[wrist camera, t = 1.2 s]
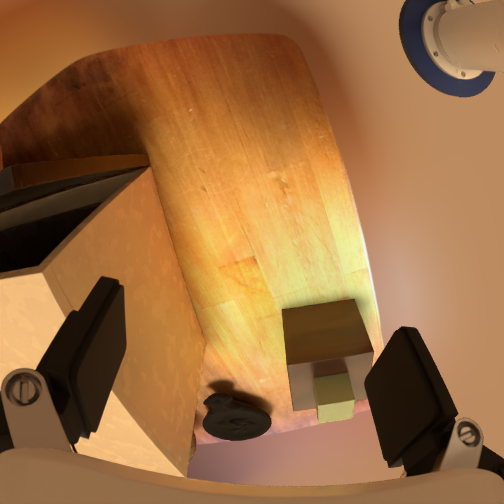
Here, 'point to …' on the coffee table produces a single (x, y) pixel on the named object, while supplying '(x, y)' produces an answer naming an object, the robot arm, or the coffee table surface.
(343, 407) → the block
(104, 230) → the oven
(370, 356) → the stand
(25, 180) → the oven door
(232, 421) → the oil lamp
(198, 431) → the coffee table surface
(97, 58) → the coffee table surface
